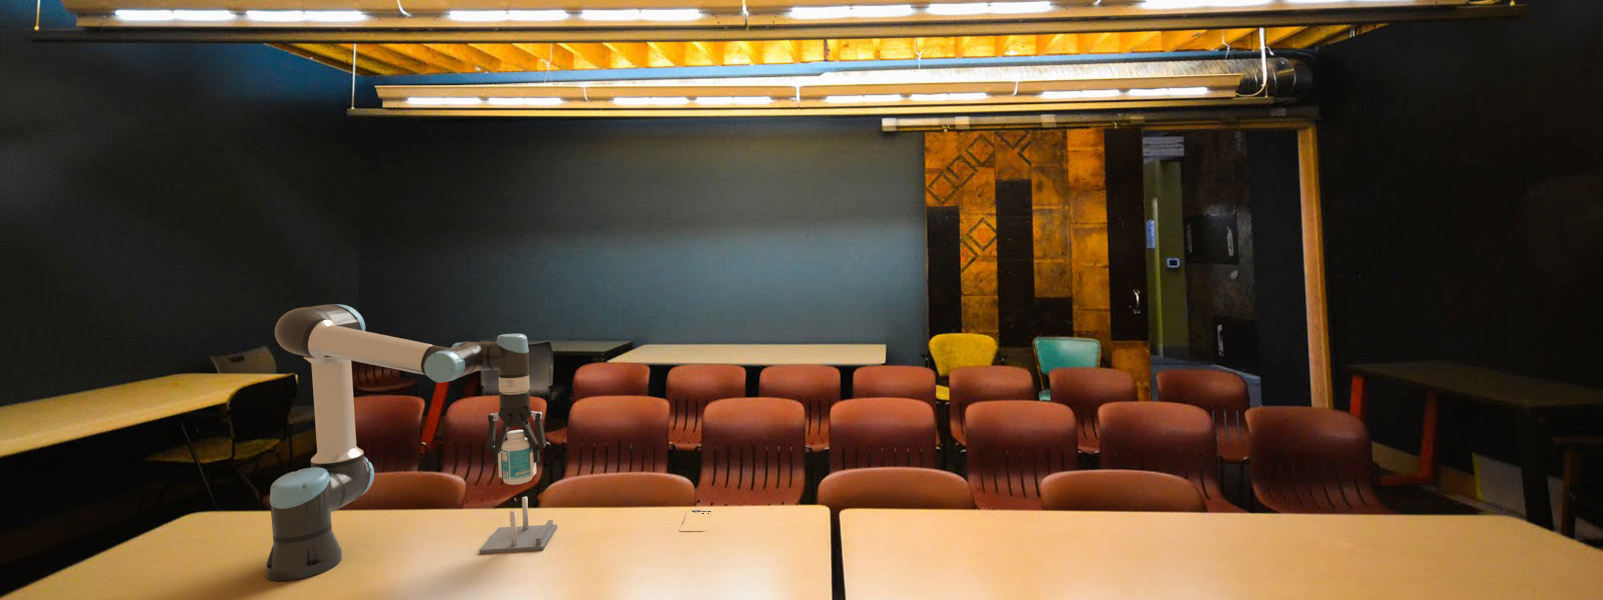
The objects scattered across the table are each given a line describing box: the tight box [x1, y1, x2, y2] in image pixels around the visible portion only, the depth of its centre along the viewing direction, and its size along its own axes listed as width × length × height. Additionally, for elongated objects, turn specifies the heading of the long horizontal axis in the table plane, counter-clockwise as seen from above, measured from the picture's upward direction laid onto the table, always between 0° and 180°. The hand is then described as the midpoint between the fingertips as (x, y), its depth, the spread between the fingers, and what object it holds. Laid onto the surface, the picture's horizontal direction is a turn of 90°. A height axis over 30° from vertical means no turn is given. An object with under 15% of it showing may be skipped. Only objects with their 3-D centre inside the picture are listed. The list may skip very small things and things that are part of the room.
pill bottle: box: [501, 429, 534, 485], centre depth 175 cm, size 8×7×14 cm
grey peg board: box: [479, 496, 558, 554], centre depth 176 cm, size 16×14×10 cm
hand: (517, 474), depth 175 cm, fingers closed on pill bottle, 7 cm apart
